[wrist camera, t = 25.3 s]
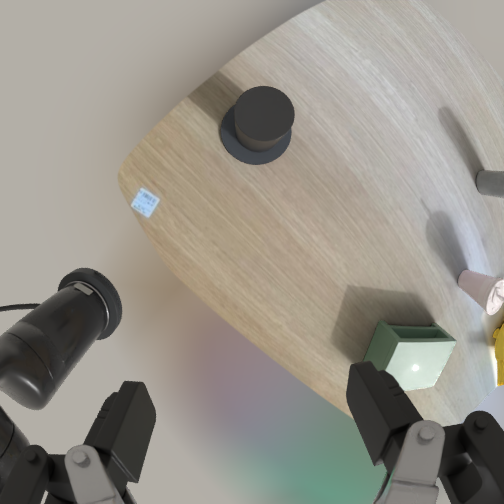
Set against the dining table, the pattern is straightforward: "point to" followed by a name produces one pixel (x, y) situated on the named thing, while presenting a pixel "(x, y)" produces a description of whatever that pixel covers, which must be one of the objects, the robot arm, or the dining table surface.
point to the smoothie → (483, 290)
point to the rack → (410, 353)
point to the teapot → (499, 353)
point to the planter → (490, 183)
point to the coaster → (242, 153)
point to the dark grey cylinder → (262, 118)
